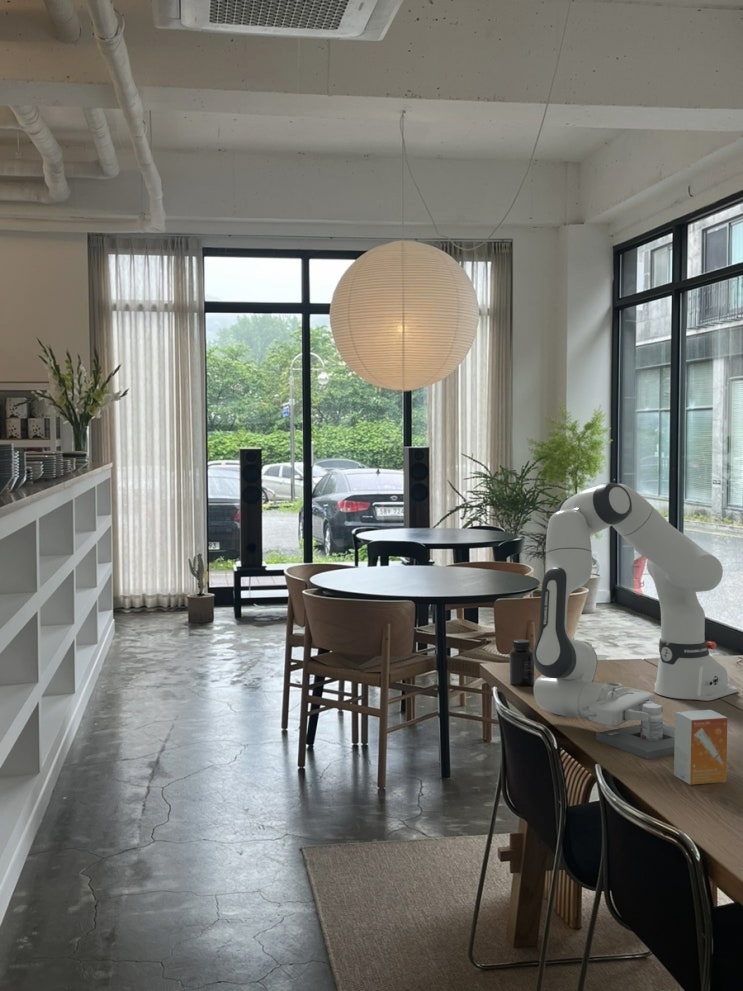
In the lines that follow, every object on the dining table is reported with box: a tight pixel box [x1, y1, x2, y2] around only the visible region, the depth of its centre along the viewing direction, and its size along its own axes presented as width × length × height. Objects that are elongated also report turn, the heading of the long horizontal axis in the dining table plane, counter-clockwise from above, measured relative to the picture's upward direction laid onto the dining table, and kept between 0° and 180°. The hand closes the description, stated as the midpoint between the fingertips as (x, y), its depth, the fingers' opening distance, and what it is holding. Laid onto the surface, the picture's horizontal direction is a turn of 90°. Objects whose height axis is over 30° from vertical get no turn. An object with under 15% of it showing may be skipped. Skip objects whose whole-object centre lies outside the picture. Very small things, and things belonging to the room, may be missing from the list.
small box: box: [673, 709, 728, 786], centre depth 196 cm, size 8×6×13 cm
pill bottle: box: [640, 703, 664, 742], centre depth 219 cm, size 5×5×8 cm
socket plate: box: [595, 723, 675, 760], centre depth 219 cm, size 18×16×2 cm
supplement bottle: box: [509, 639, 536, 687], centre depth 274 cm, size 7×7×12 cm
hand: (655, 713), depth 218 cm, fingers open, 5 cm apart
